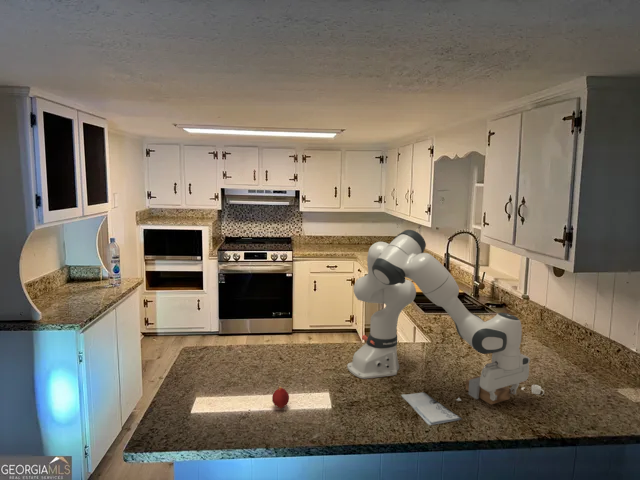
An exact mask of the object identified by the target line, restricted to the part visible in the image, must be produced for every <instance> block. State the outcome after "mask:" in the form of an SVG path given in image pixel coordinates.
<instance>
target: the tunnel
mask: <svg viewBox="0 0 640 480" xmlns="http://www.w3.org/2000/svg"><path fill="white" fill-rule="evenodd" d="M479 389H480V377H479V378H475V379H471V380H469V391H468V395H469V396H470V397H472V398H473V399H475V400H479V399H480V398H479Z"/></svg>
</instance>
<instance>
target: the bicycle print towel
mask: <svg viewBox="0 0 640 480" xmlns="http://www.w3.org/2000/svg"><path fill="white" fill-rule="evenodd" d="M401 398H402V399H403V400H405V401H406V402H407V403H408V405H410V406H411V407H412V409H413V410H414V411H415V412H416V413H417V415H419V416H420V418H421V419H423V421H424V422H425V423H426V425H428V426H433V425H440V424H445V423H449V422H450V423H451V422H456V421H461V420H463V417H460V416H459V415H458V414H456V413H455V412H453V411H451V409H449V408H448V407H446V406H445V405H443V404H442V403H440V402H439V401H438V400H436V399H435V398H434V397H431V396H430V395H428V394H427V393H426V392H425V391H423V392H417V393H415V392H414V393H408V394H404V393H403V394H401ZM455 400H456V401H458V402H459V401H461V402H462V399H461V398H460V397H458V398H457V399H455Z"/></svg>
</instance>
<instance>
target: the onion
mask: <svg viewBox="0 0 640 480" xmlns="http://www.w3.org/2000/svg"><path fill="white" fill-rule="evenodd" d="M271 397H272V399H271V400H272V403H273V405H274V406H276V407H277V408H278V409H280V410H281V409H283V408H285V407H286V406H287V405H288V404H289V402H290V401H289V400H290V394H289V392H288V391H287V389H285V388H283V387H282V386H278V388H277V389H276V390H275V391H274V392H273V393H272V396H271Z"/></svg>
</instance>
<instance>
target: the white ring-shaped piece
mask: <svg viewBox="0 0 640 480" xmlns="http://www.w3.org/2000/svg"><path fill="white" fill-rule="evenodd" d="M524 389H525V387H521V391H524ZM541 391H542V394H541ZM531 393H532V394H534V395H541V396H543V395H544V394H545V390H544V389H542V387H541V386H540V385H538V384H532V385H531Z"/></svg>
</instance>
